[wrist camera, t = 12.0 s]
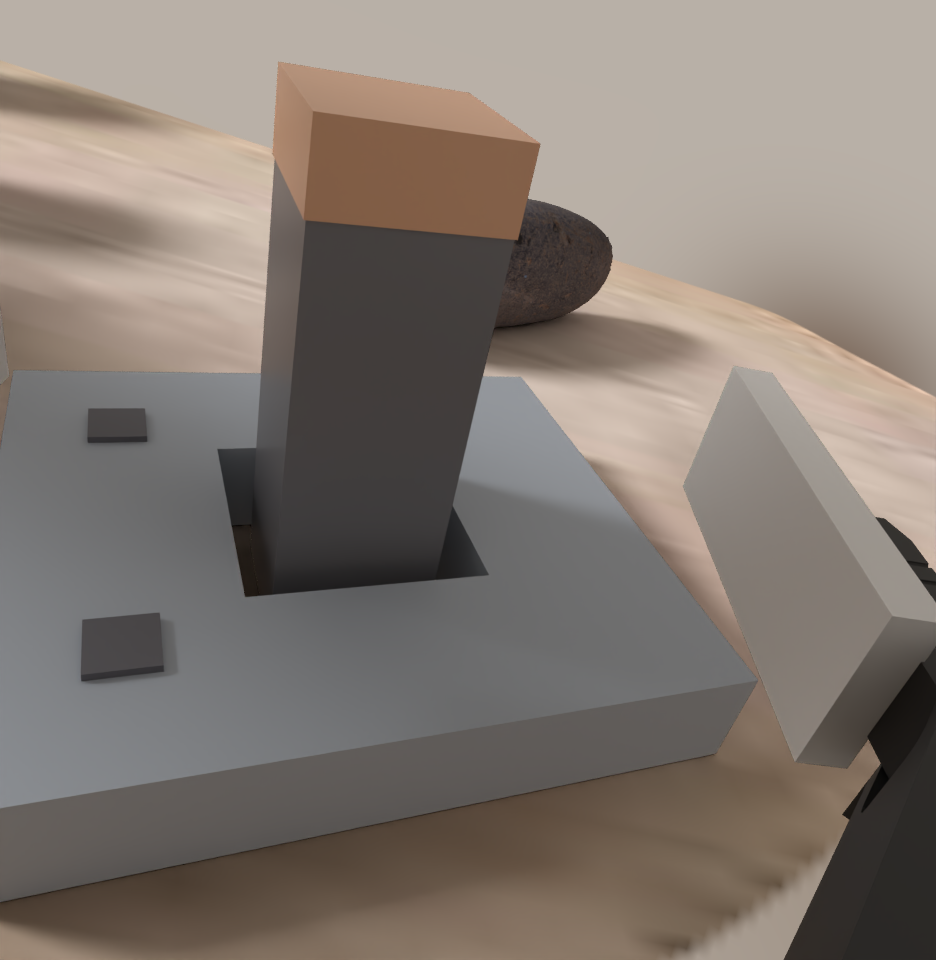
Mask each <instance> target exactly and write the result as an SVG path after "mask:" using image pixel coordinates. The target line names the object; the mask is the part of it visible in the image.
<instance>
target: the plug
mask: <svg viewBox="0 0 936 960" xmlns="http://www.w3.org/2000/svg"><path fill="white" fill-rule="evenodd" d="M274 124H275V125H274V138H273V156H274V158H275V162H274V177H273V193H272V209H271V224H270V240H269V255H268V271H267V287H266V302H265V318H264V334H263V349H262V365H261V380H260V396H259V412H258V427H257V443H256V459H255V474H254V490H253V506H252V521H251V537H250V547H251V553H252V558H253V564H254V570H255V576H256V582H257V587H258V593H259V596H264V595H276V594H287V593H298V592H309V591H320V590H331V589H342V588H353V587H364V586H376V585H387V584H398V583H409V582H420V581H431V580H435V578H436V574H437V570H438V565H439V561H440V557H441V552H442V548H443V544H444V540H445V535H446V531H447V527H448V523H449V518H450V514H451V510H452V505H453V501H454V497H455V493H456V488H457V484H458V480H459V475H460V471H461V467H462V463H463V458H464V454H465V450H466V446H467V441H468V437H469V433H470V428H471V424H472V420H473V416H474V411H475V407H476V403H477V399H478V394H479V390H480V386H481V381H482V377H483V373H484V369H485V364H486V360H487V356H488V352H489V347H490V343H491V339H492V334H493V330H494V326H495V322H496V317H497V313H498V309H499V305H500V300H501V296H502V292H503V287H504V283H505V279H506V275H507V270H508V266H509V262H510V258H511V253H512V249H513V245H514V240H518V237H519V233H520V228H521V224H522V220H523V216H524V212H525V207H526V203H527V199H528V195H529V190H530V186H531V182H532V178H533V173H534V169H535V165H536V161H537V156H538V152H539V148H540V143H539V142H537V141H536V140H534V139H533V138H532V137H530V136H529V135H527V134H526V133H525V132H523V131H522V130H521V129H519V128H518V127H516V126H515V125H513V124H512V123H510V122H509V121H508V120H506V119H505V118H504V117H502V116H501V115H499V114H498V113H497V112H495V111H494V110H492V109H491V108H490V107H488V106H487V105H485V104H484V103H483V102H481V101H480V100H478V99H477V98H476V97H474V96H473V95H471V94H470V93H467V92H460V91H455V90H448V89H442V88H436V87H430V86H424V85H418V84H412V83H405V82H400V81H393V80H387V79H381V78H375V77H369V76H363V75H357V74H351V73H344V72H339V71H332V70H326V69H320V68H314V67H308V66H302V65H296V64H290V63H284V62H278V74H277V90H276V106H275V122H274Z"/></svg>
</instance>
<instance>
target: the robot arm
mask: <svg viewBox="0 0 936 960" xmlns="http://www.w3.org/2000/svg"><path fill="white" fill-rule="evenodd" d="M8 377H9V370H8V362H7V355H6V347H5V339H4V332H3V324H2V316H1V309H0V385H1V384H2V383H3V382H4V381H5V380H6V379H7V378H8ZM683 488H684V490H685V493H686V495H687V497H688V500H689V502H690V505H691V507H692V510H693V512H694V515H695V517H696V520H697V522H698V525H699V527H700V530H701V532H702V534H703V537H704V539H705V542H706V544H707V547H708V549H709V552H710V554H711V557H712V559H713V562H714V564H715V567H716V569H717V571H718V574H719V576H720V579H721V581H722V584H723V586H724V589H725V591H726V594H727V596H728V599H729V601H730V604H731V606H732V608H733V611H734V613H735V616H736V618H737V621H738V623H739V626H740V628H741V631H742V633H743V636H744V638H745V641H746V643H747V645H748V648H749V650H750V653H751V655H752V658H753V660H754V663H755V665H756V668H757V670H758V673H759V675H760V678H761V680H762V682H763V685H764V687H765V690H766V692H767V695H768V697H769V700H770V702H771V705H772V707H773V710H774V712H775V715H776V717H777V719H778V722H779V724H780V727H781V729H782V732H783V734H784V737H785V739H786V742H787V744H788V747H789V749H790V752H791V754H792V756H793V759H794V761H795V762H798V763H806V764H814V765H822V766H830V767H838V768H846V769H847V768H848V766H849V765H850V764H851V762H852V761H853V760H854V758H855V757H856V755H857V754H858V753H859V751H860V750H861V749H862V747H863V746H864V744H865V743H866V742H867V740H868V739H869V741H870V743H871V745H872V747H873V749H874V751H875V753H876V755H877V757H878V759H879V761H880V763H881V764H880V766H879V767H878V768H877V770H876V771H875V772H874V774H873V775H872V776H871V778H870V779H869V780H868V781H867V783H866V784H865V785H864V787H863V788H862V789H861V791H860V792H859V793H858V795H857V796H856V797H855V799H854V800H853V801H852V802H851V804H850V805H849V806H848V808H847V809H846V810H845V812H844V813H843V814H842V815H844V816H845V817H846V818H848V819H849V822H848V824H847V827H846V829H845V831H844V833H843V835H842V837H841V839H840V841H839V844H838V846H837V848H836V850H835V852H834V854H833V856H832V858H831V861H830V863H829V865H828V867H827V869H826V871H825V873H824V875H823V878H822V880H821V882H820V884H819V886H818V888H817V890H816V892H815V895H814V897H813V899H812V901H811V903H810V905H809V907H808V909H807V912H806V914H805V916H804V918H803V920H802V922H801V924H800V926H799V929H798V931H797V933H796V935H795V937H794V939H793V941H792V943H791V946H790V948H789V950H788V952H787V954H786V956H785V958H784V960H936V573H935V572H934V570H933V569H932V568H928V562H927V561H926V560H925V558H924V557H923V556H922V554H921V553H920V552H919V550H918V549H917V548H916V546H915V545H914V544H913V542H912V541H911V540H910V539H909V538H907V537H906V536H905V535H904V534H903V533H901V532H900V531H899V530H898V529H897V528H895V527H894V526H893V525H892V524H890V523H889V522H888V521H887V520H886V519H884V518H877V517H875V516H874V515H873V514H872V512H871V511H870V509H869V508H868V507H867V505H866V504H865V502H864V501H863V500H862V498H861V497H860V495H859V494H858V493H857V491H856V490H855V488H854V487H853V486H852V484H851V483H850V481H849V480H848V479H847V477H846V476H845V474H844V473H843V472H842V470H841V469H840V467H839V466H838V465H837V463H836V462H835V460H834V459H833V457H832V456H831V455H830V453H829V452H828V450H827V449H826V448H825V446H824V445H823V443H822V442H821V441H820V439H819V438H818V436H817V435H816V434H815V432H814V431H813V429H812V428H811V427H810V425H809V424H808V422H807V421H806V420H805V418H804V417H803V415H802V414H801V413H800V411H799V410H798V408H797V407H796V406H795V404H794V403H793V401H792V400H791V399H790V397H789V396H788V394H787V393H786V392H785V390H784V389H783V387H782V386H781V384H780V383H779V382H778V380H777V379H776V377H775V376H774V375H773V373H770V372H765V371H759V370H754V369H748V368H743V367H738V366H733V368H732V371H731V373H730V375H729V378H728V380H727V382H726V385H725V387H724V390H723V392H722V394H721V397H720V399H719V402H718V404H717V406H716V409H715V411H714V413H713V416H712V418H711V421H710V423H709V425H708V428H707V430H706V432H705V435H704V437H703V440H702V442H701V444H700V447H699V449H698V451H697V454H696V456H695V459H694V461H693V463H692V466H691V468H690V471H689V473H688V475H687V478H686V480H685V482H684V485H683Z"/></svg>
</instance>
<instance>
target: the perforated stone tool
mask: <svg viewBox="0 0 936 960" xmlns="http://www.w3.org/2000/svg"><path fill="white" fill-rule="evenodd" d="M612 257H613V255H612V245H611V243H610V242H609V239H608V237H606V235H605V234H604V233H603V232H602V231H601V230H600V229H599V228H598V227H597V226H596V225H595V224H593V223H592V222H591V221H589V220H587V219H585V218H584V217H581V216H580V215H578V214H575V213H573V212H571V211H569V210H566V209H563V208H561V207H558V206H555V205H552V204H548V203H545V202H541V201H536V200H531V199H527V203H526V207H525V212H524V216H523V220H522V224H521V228H520V233H519V237H518V240H514V245H513V249H512V253H511V258H510V262H509V266H508V270H507V275H506V279H505V283H504V287H503V292H502V296H501V300H500V305H499V309H498V313H497V317H496V322H495V326H494V328H496V327H508V326H514V325H520V324H528V323H534V322H540V321H546V320H550V319H554V318H557V317H561V316H563V315H565V314H568V313H570V312H572V311H574V310H576V309H577V308H579V307H580V306H582V305H583V304H585V303H586V302H588V301H589V300H590V299H591V298H592V297H593V296H594V295H595V294H597V292H598V291H599V290H600V288H601V287H602V285H603V284H604V282H605V281H606V279H607V277H608V274H609V272H610V270H611V269H610V266H611V263H612Z"/></svg>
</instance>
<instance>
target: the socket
mask: <svg viewBox="0 0 936 960" xmlns="http://www.w3.org/2000/svg"><path fill="white" fill-rule="evenodd" d="M260 380H261V374H259V373H185V372H111V371H37V370H13V376H12V382H11V388H10V394H9V400H8V405H7V411H6V417H5V423H4V429H3V434H2V440H1V446H0V902H3V901H7V900H12V899H17V898H22V897H27V896H32V895H36V894H41V893H46V892H51V891H56V890H61V889H65V888H70V887H75V886H80V885H85V884H89V883H94V882H99V881H104V880H109V879H114V878H118V877H123V876H128V875H133V874H138V873H143V872H147V871H152V870H157V869H162V868H167V867H171V866H176V865H181V864H186V863H191V862H196V861H200V860H205V859H210V858H215V857H220V856H224V855H229V854H234V853H239V852H244V851H249V850H253V849H258V848H263V847H268V846H273V845H278V844H282V843H287V842H292V841H297V840H302V839H306V838H311V837H316V836H321V835H326V834H331V833H335V832H340V831H345V830H350V829H355V828H360V827H364V826H369V825H374V824H379V823H384V822H388V821H393V820H398V819H403V818H408V817H413V816H417V815H422V814H427V813H432V812H437V811H441V810H446V809H451V808H456V807H461V806H466V805H470V804H475V803H480V802H485V801H490V800H495V799H499V798H504V797H509V796H514V795H519V794H523V793H528V792H533V791H538V790H543V789H548V788H552V787H557V786H562V785H567V784H572V783H577V782H581V781H586V780H591V779H596V778H601V777H605V776H610V775H615V774H620V773H625V772H630V771H634V770H639V769H644V768H649V767H654V766H658V765H663V764H668V763H673V762H678V761H683V760H687V759H692V758H697V757H702V756H707V755H712V754H716V752H717V751H718V749H719V747H720V746H721V744H722V742H723V740H724V739H725V737H726V735H727V734H728V732H729V730H730V728H731V727H732V725H733V723H734V722H735V720H736V718H737V716H738V715H739V713H740V711H741V709H742V708H743V706H744V704H745V703H746V701H747V699H748V697H749V696H750V694H751V692H752V691H753V689H754V687H755V685H756V684H757V682H758V679H757V678H756V677H755V676H754V674H753V673H752V672H751V670H750V669H749V668H748V667H747V665H746V664H745V663H744V661H743V660H742V659H741V658H740V656H739V655H738V654H737V653H736V651H735V650H734V649H733V647H732V646H731V645H730V644H729V642H728V641H727V640H726V638H725V637H724V636H723V635H722V633H721V632H720V631H719V630H718V628H717V627H716V626H715V624H714V623H713V622H712V621H711V619H710V618H709V617H708V615H707V614H706V613H705V612H704V610H703V609H702V608H701V607H700V605H699V604H698V603H697V601H696V600H695V599H694V598H693V596H692V595H691V594H690V592H689V591H688V590H687V589H686V587H685V586H684V585H683V583H682V582H681V581H680V580H679V578H678V577H677V576H676V575H675V573H674V572H673V571H672V569H671V568H670V567H669V566H668V564H667V563H666V562H665V560H664V559H663V558H662V557H661V555H660V554H659V553H658V552H657V550H656V549H655V548H654V546H653V545H652V544H651V543H650V541H649V540H648V539H647V537H646V536H645V535H644V534H643V532H642V531H641V530H640V529H639V527H638V526H637V525H636V523H635V522H634V521H633V520H632V518H631V517H630V516H629V514H628V513H627V512H626V511H625V509H624V508H623V507H622V505H621V504H620V503H619V502H618V500H617V499H616V498H615V497H614V495H613V494H612V493H611V491H610V490H609V489H608V488H607V486H606V485H605V484H604V482H603V481H602V480H601V479H600V477H599V476H598V475H597V474H596V472H595V471H594V470H593V468H592V467H591V466H590V465H589V463H588V462H587V461H586V459H585V458H584V457H583V456H582V454H581V453H580V452H579V451H578V449H577V448H576V447H575V445H574V444H573V443H572V442H571V440H570V439H569V438H568V436H567V435H566V434H565V433H564V431H563V430H562V429H561V427H560V426H559V425H558V424H557V422H556V421H555V420H554V419H553V417H552V416H551V415H550V413H549V412H548V411H547V410H546V408H545V407H544V406H543V404H542V403H541V402H540V401H539V399H538V398H537V397H536V396H535V394H534V393H533V392H532V390H531V389H530V388H529V387H528V385H527V384H526V383H525V381H524V380H523V379H522V378H521V377H482V381H481V386H480V390H479V394H478V399H477V403H476V407H475V411H474V416H473V420H472V424H471V428H470V433H469V437H468V441H467V446H466V450H465V454H464V458H463V463H462V467H461V471H460V475H459V480H458V484H457V488H456V493H455V497H454V501H453V505H452V510H451V514H450V518H449V523H448V527H447V531H446V535H445V540H444V544H443V548H442V552H441V557H440V561H439V565H438V570H437V574H436V578H435V580H431V581H420V582H409V583H398V584H387V585H376V586H364V587H353V588H342V589H331V590H320V591H309V592H298V593H287V594H276V595H264V596H253V597H245V595H244V589H243V584H242V579H241V573H240V568H239V563H238V557H237V552H236V547H235V541H234V536H233V531H232V525H249V524H251V521H252V506H253V490H254V474H255V459H256V443H257V427H258V412H259V396H260Z"/></svg>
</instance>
